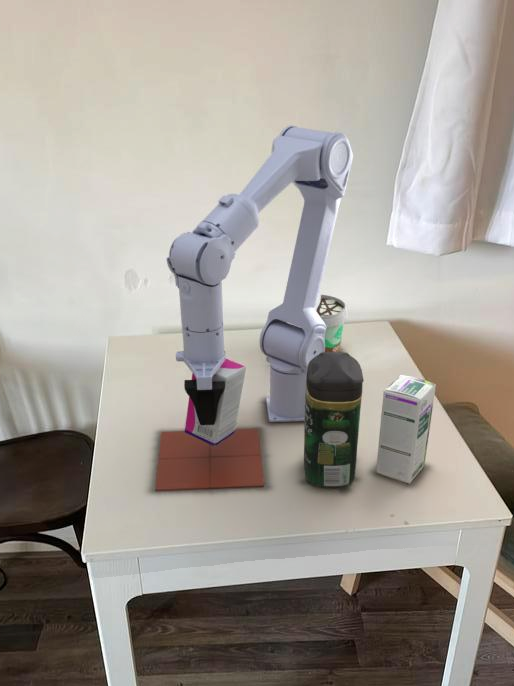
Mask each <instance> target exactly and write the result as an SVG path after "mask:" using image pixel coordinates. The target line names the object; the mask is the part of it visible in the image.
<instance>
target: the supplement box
mask: <svg viewBox="0 0 514 686" xmlns="http://www.w3.org/2000/svg"><path fill="white" fill-rule="evenodd" d="M246 370H247V366H246V365H243V364H240V363H238V362H235V361H233V360H230V359H229V358H226V359H225V361H224V362H223V364H222V365H221V366H220V368H219V369H218V370H217V372H216V373H215V374H214V376H213V377H212V379H213V382H216V381H225V390H224V392H223V394H222V395H221V397H220V400H219V403H218V408H217V415H216V420H215V424H214V425H200V423H199V421H198V417H197V414H196V410H195V407H194V404H193V402H192V400H191V398H190V397H189V396H188V403H187V411H186V418H185V425H184V431H185V433H187V434H189V435H191V436H194V437H196V438H198V439H200V440H202V441H204V442H206V443H208V444H210V445H212V446H214V447H215V446H217V445H218V444H220V443H221V442H222V441H224V440H225V439H226V438H228V437H230V436H231V435H232V434H234V433H235V429H236V427H237V421H238V416H239V415H238V414H239V410H240V404H241V400H242V399H241V398H242V393H243V387H244V381H245V376H246ZM191 380H197V379H196V377H195V375H194V374H193V373H192V372H191Z"/></svg>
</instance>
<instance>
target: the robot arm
mask: <svg viewBox="0 0 514 686" xmlns="http://www.w3.org/2000/svg"><path fill="white" fill-rule="evenodd" d="M353 159H354V153H353V150H352V146H351V143H350V141H349V138H348V137H347V135H346V134H345V133H342V132H338V131H336V132H330V131H324V130H318V129H312V128H304V127H298V126H297V125H292V124H291V125H287V126H285V127H284V128H283V129H282V130H281V131H280V133H279V134H278V135H277V136H276V137H275V138H273V140H272V144H271V154H270V155H269V157H268V158H267V159H266V160H265V161H264V163H263V164H262V165H261V166H260V168H259V169H258V171H256V173H255V174H254V176H253V177H252V178H251V179H250V181H249V182H248V183H247V184H246V186H245V187H244V188H243V190H242V191H241V192H240V193H239V194H237V193H228V194H226V195H225V194H224V195H222V196H221V197H220V198H219V199H218V202H217V203H218V204H216V206H215V207H213V209H212V210H211V211H210V212H209V213H208V214H207V215H206V216H205V218H203V220H201V221H200V222H199V223H198V224H197V225H196V227H195V228H194V229H193V230H192V231H187V232H183V233H180V235H178V236H177V237H176V238H175V239H174V240H173V241H172V243H171V245H170V248H169V252H168V256H167V257H166V264H167V267H168V269H169V271H170V272H171V273H172V274H173V276H174V280H175V286H176V287H177V289H178V293H179V307H180V320H181V321H180V322H181V334H182V348H183V350H178V351H176V352H175V361H176V362H183V363H184V364H185V365H186V366H187V368H188V369H189V371H191V374H192V373H193V374H194V375H195V377H196V379H197V380H192V379H184V382H183V383H184V384H183V386H184V391H185V393H186V394H187V396H188V398H189V397H190V398H191V400H192V402H193V404H194V407H195V410H196V414H197V417H198V421H199V423H200V425H214V424H215V420H216V415H217V408H218V403H219V400H220V397H221V395H222V394H223V392H224V390H225V381H216V382H213V379H212V377H213V376H214V374H215V373H216V372H217V370H218V369H219V368H220V366H221V365H222V364H223V362H224V361H225V359H227V353H226V350H225V334H224V332H225V331H224V309H223V308H224V306H223V305H224V304H223V280H225V279H226V278H227V277H228V275H229V273H230V270H231V266H232V262H233V260H234V259H235V256H236V252H237V250H239V248H240V247H241V246H242V245H243V244H244V243H245V242H246V241H247V240H248V238H249V237H250V236H251V235H252V234H253V233H254V231H256V230H257V228H259V227H258V226H259V222H260V220H259V214H260V213H261V212H262V211H263V210H264V209H265V208H266V207H268V205H269V204H270V203H271V202H272V201H274V199H276V197H278V196H279V195H280V194H281V193H282V192H283V191H284V190H285V189H286V188H287V187H289V185H291V184H293V186H295V188H297V189H298V190H299V192H300V195H301V196H302V198H303V200H304V201H303V202H304V203H303V207H302V210H301V211H302V212H301V216H300V220H299V225H298V230H297V235H296V240H295V244H294V250H293V254H292V258H291V263H290V268H289V273H288V278H287V281H286V285H285V286H286V287H285V291H284V296H283V300H282V303H281V304H280V305H278V306H276V307H274V308H272V309H271V310H269V311H268V315H267V319H266V322H265V324H264V326H263V328H262V330H261V332H260V335H259V347H260V348H259V349H260V352H261V353H262V354H263V355H265V356H266V363H268V364H269V397H266V399H265V401H266V409H267V416H268V417H267V418H268V421H269V422H270V423H285V422H305V395H306V379H307V369H308V364H309V362H310V361H311V360H312V359H313V358H314V357H315V356H317V355H319V354H320V353H321V352H325V332H326V328H327V327H326V325H325V323H324V321H323V320H322V319H321V317H320V316H319V314H318V313H317V311H316V310H317V304H318V300H319V295H320V290H321V287H322V282H323V277H324V273H325V270H326V265H327V261H328V256H329V252H330V248H331V243H332V239H333V235H334V230H335V226H336V222H337V216H338V213H339V208H340V204H341V201H342V198H343V197H344V196H345V194H346V189H347V184H348V182H349V181H348V180H349V176H350V172H351V169H352V163H353Z"/></svg>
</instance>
